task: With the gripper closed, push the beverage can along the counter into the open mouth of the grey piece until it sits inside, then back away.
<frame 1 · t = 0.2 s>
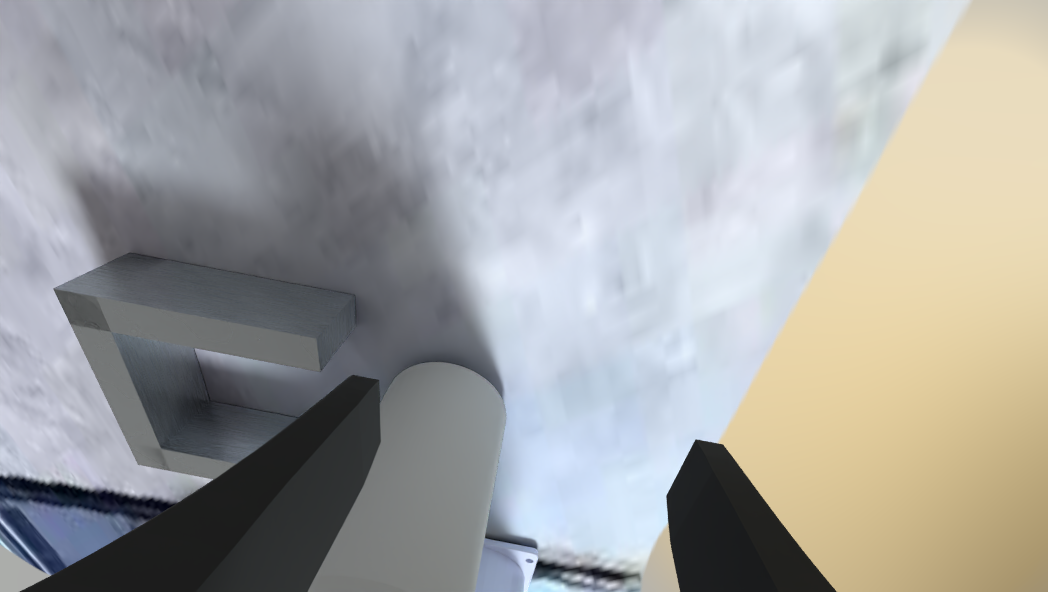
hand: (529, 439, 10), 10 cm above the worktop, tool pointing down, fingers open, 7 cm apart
grey piece: (260, 363, 23), on the worktop
beverage can: (451, 396, 24), on the worktop
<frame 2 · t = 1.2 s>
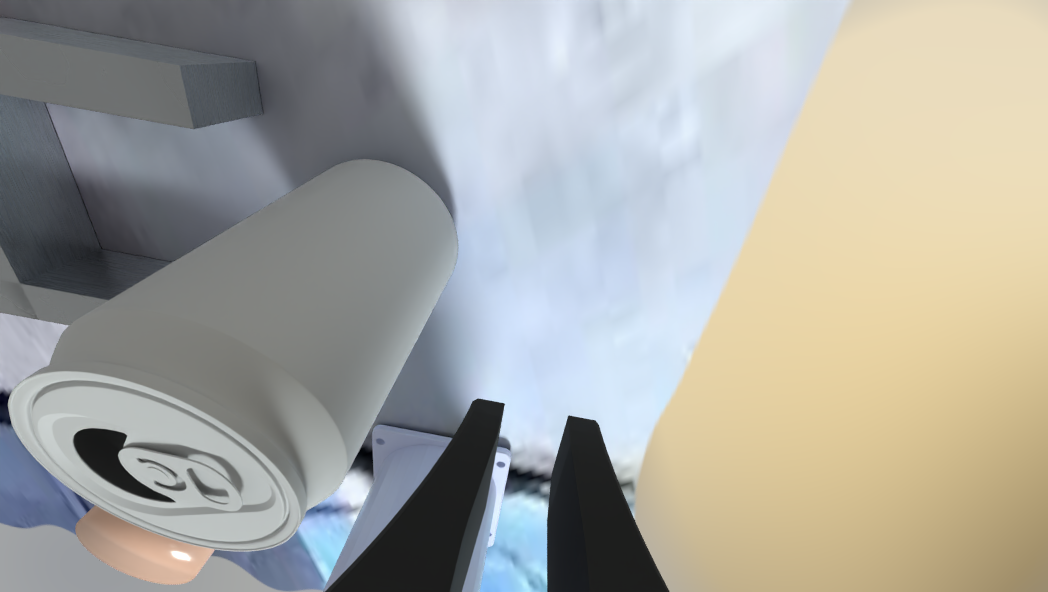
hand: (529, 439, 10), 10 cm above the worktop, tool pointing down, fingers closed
peach cylinder plug: (201, 478, 30), on the worktop
grey piece: (153, 185, 19), on the worktop
beverage can: (392, 227, 19), on the worktop
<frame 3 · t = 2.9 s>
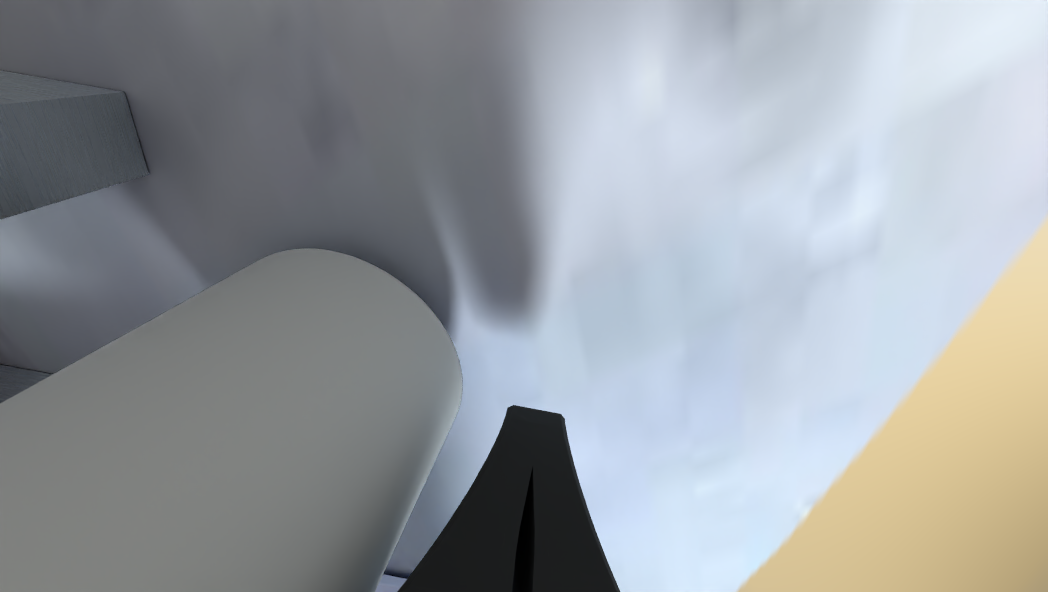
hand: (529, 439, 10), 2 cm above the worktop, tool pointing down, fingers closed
grey piece: (0, 273, 12), on the worktop
beverage can: (365, 341, 12), on the worktop, touching gripper
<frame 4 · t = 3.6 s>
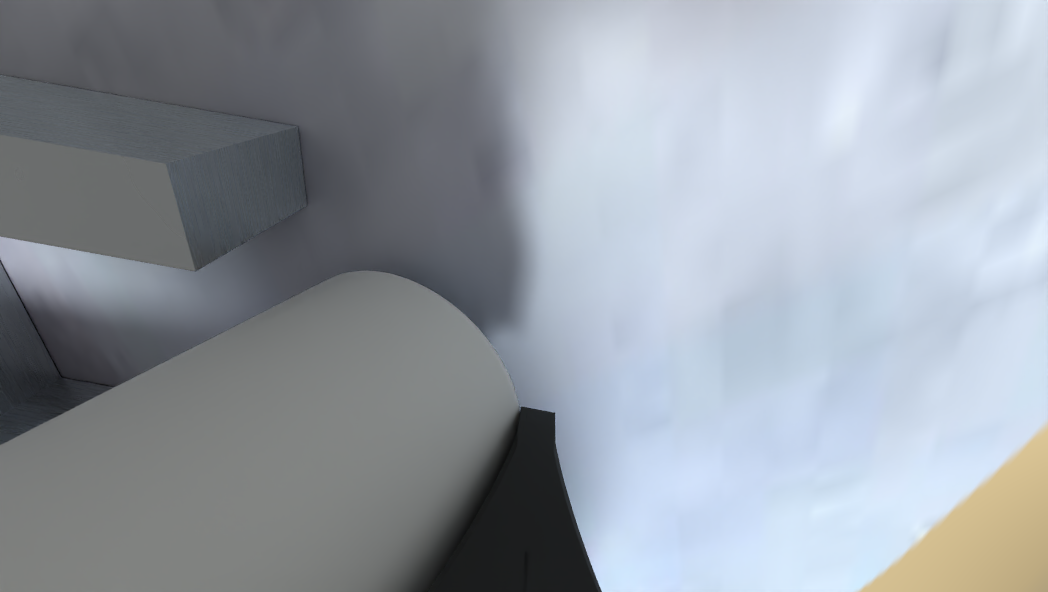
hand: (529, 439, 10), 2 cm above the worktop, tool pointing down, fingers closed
grey piece: (133, 300, 12), on the worktop
beverage can: (425, 368, 11), point 1 cm above the worktop, touching gripper
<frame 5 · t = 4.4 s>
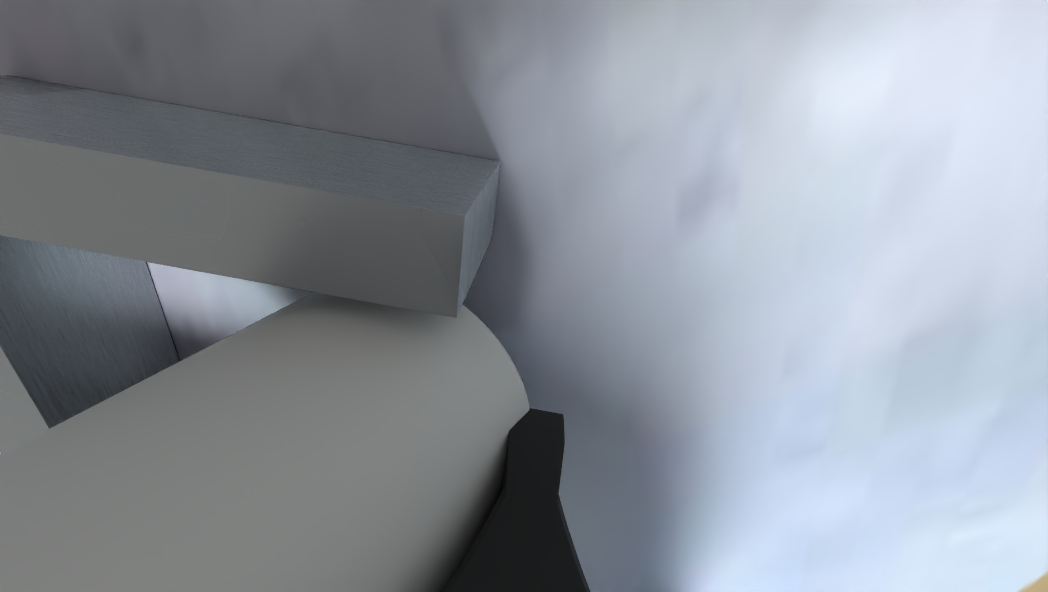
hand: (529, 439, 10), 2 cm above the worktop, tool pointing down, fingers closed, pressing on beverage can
grey piece: (286, 327, 12), on the worktop
beverage can: (434, 369, 11), point 1 cm above the worktop, touching gripper
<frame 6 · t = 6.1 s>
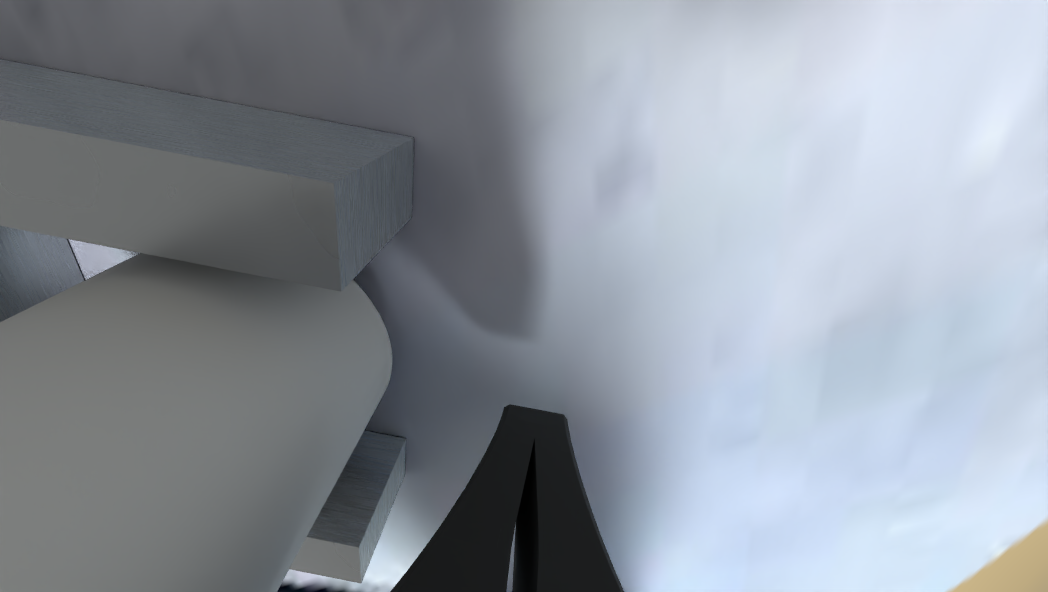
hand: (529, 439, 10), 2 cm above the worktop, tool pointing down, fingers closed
grey piece: (214, 308, 12), on the worktop
beverage can: (295, 317, 12), on the worktop
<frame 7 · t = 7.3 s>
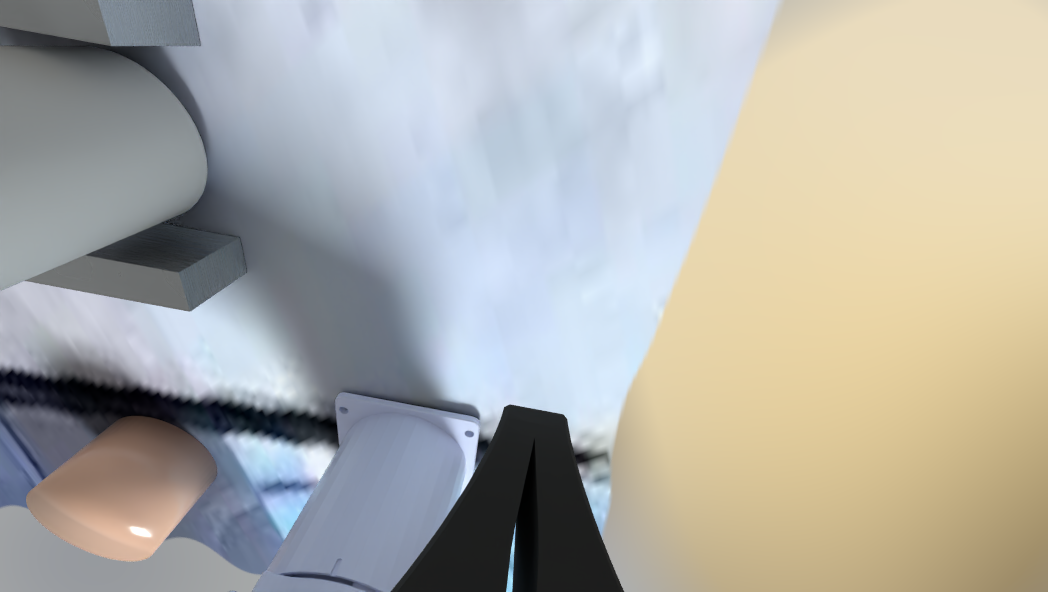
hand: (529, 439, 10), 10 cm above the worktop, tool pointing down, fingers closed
peach cylinder plug: (165, 453, 29), on the worktop
grey piece: (91, 128, 18), on the worktop
beverage can: (147, 135, 18), on the worktop
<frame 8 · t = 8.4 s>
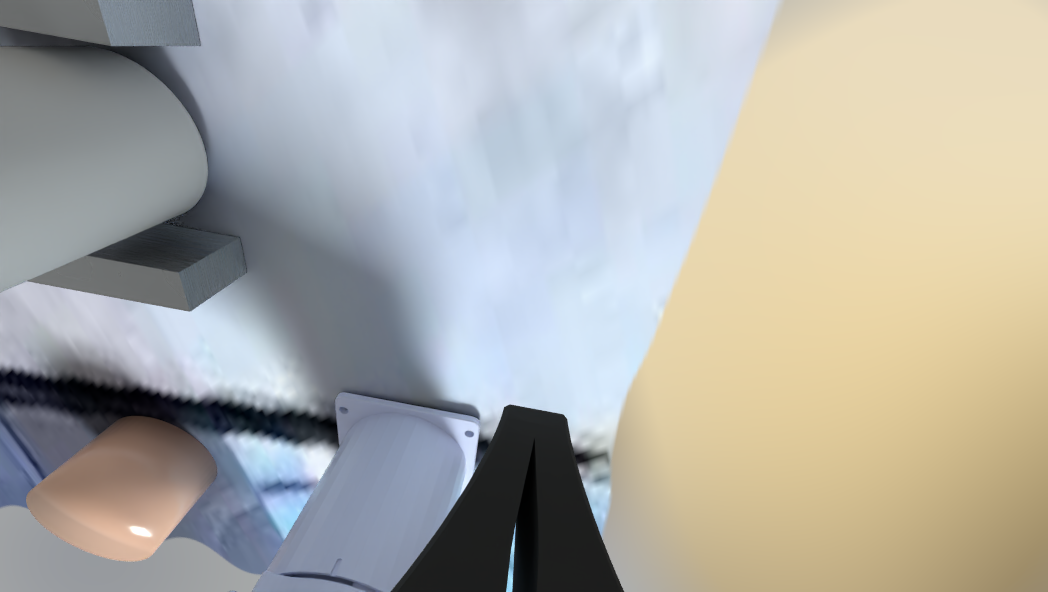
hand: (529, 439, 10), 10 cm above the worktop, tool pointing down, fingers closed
peach cylinder plug: (165, 453, 29), on the worktop
grey piece: (91, 128, 18), on the worktop
beverage can: (148, 135, 18), on the worktop
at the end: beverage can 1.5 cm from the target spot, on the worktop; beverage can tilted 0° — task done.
